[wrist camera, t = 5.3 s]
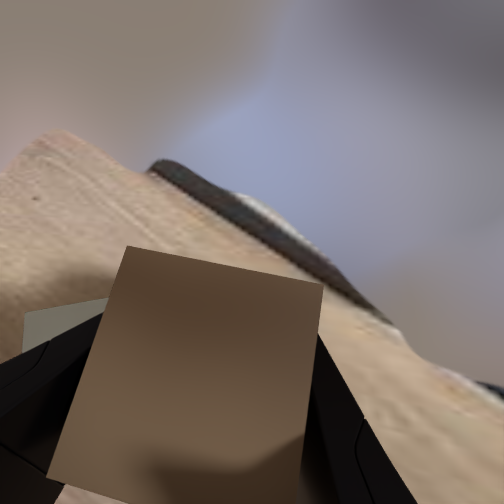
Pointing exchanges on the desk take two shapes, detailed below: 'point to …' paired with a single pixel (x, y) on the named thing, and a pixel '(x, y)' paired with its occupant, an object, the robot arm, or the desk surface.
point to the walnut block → (193, 386)
